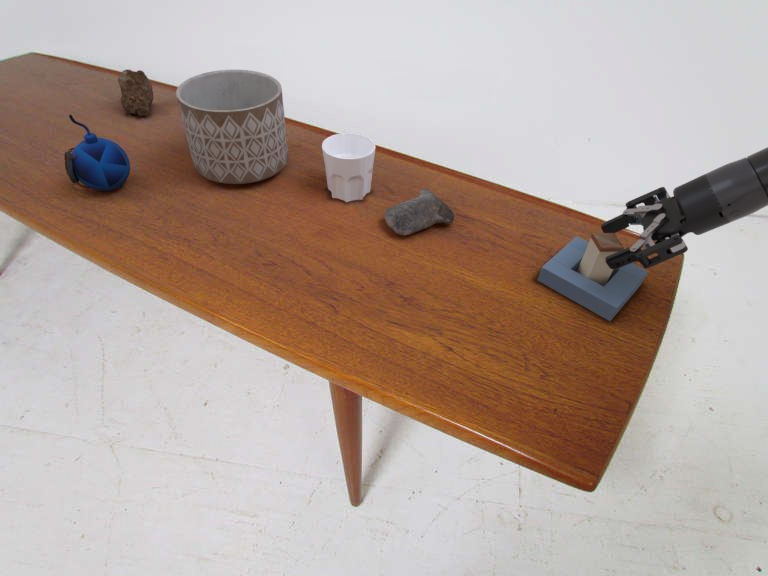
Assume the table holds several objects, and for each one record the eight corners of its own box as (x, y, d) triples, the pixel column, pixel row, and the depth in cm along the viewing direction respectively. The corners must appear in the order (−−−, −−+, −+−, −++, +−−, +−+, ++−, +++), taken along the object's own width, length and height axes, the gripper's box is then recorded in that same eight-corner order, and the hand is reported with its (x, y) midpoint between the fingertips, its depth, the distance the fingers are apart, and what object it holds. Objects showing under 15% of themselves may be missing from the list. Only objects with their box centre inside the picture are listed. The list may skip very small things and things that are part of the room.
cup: (380, 200, 98) (382, 155, 92) (331, 208, 96) (329, 162, 89) (365, 174, 105) (366, 130, 98) (318, 181, 102) (316, 136, 96)
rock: (142, 120, 118) (122, 76, 112) (124, 119, 121) (103, 77, 114) (170, 104, 124) (152, 62, 118) (152, 104, 127) (134, 63, 121)
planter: (177, 182, 100) (154, 102, 88) (221, 138, 114) (207, 64, 102) (267, 198, 97) (256, 117, 86) (302, 151, 111) (296, 76, 99)
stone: (380, 223, 97) (400, 252, 90) (374, 202, 94) (394, 230, 87) (435, 199, 99) (459, 225, 92) (431, 177, 95) (456, 203, 88)
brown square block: (604, 289, 82) (624, 247, 76) (582, 290, 82) (601, 248, 76) (595, 274, 85) (614, 232, 79) (574, 275, 85) (592, 233, 79)
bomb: (73, 181, 98) (40, 108, 88) (131, 169, 103) (106, 97, 92) (79, 207, 92) (44, 131, 82) (141, 193, 97) (115, 119, 86)
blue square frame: (641, 284, 84) (648, 271, 82) (609, 321, 77) (617, 308, 75) (571, 248, 90) (576, 235, 88) (537, 280, 83) (541, 267, 81)
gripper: (697, 152, 72) (590, 205, 82) (722, 206, 62) (597, 259, 72) (718, 189, 75) (612, 236, 85) (745, 246, 65) (621, 292, 75)
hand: (605, 246), depth 78 cm, fingers open, 8 cm apart
